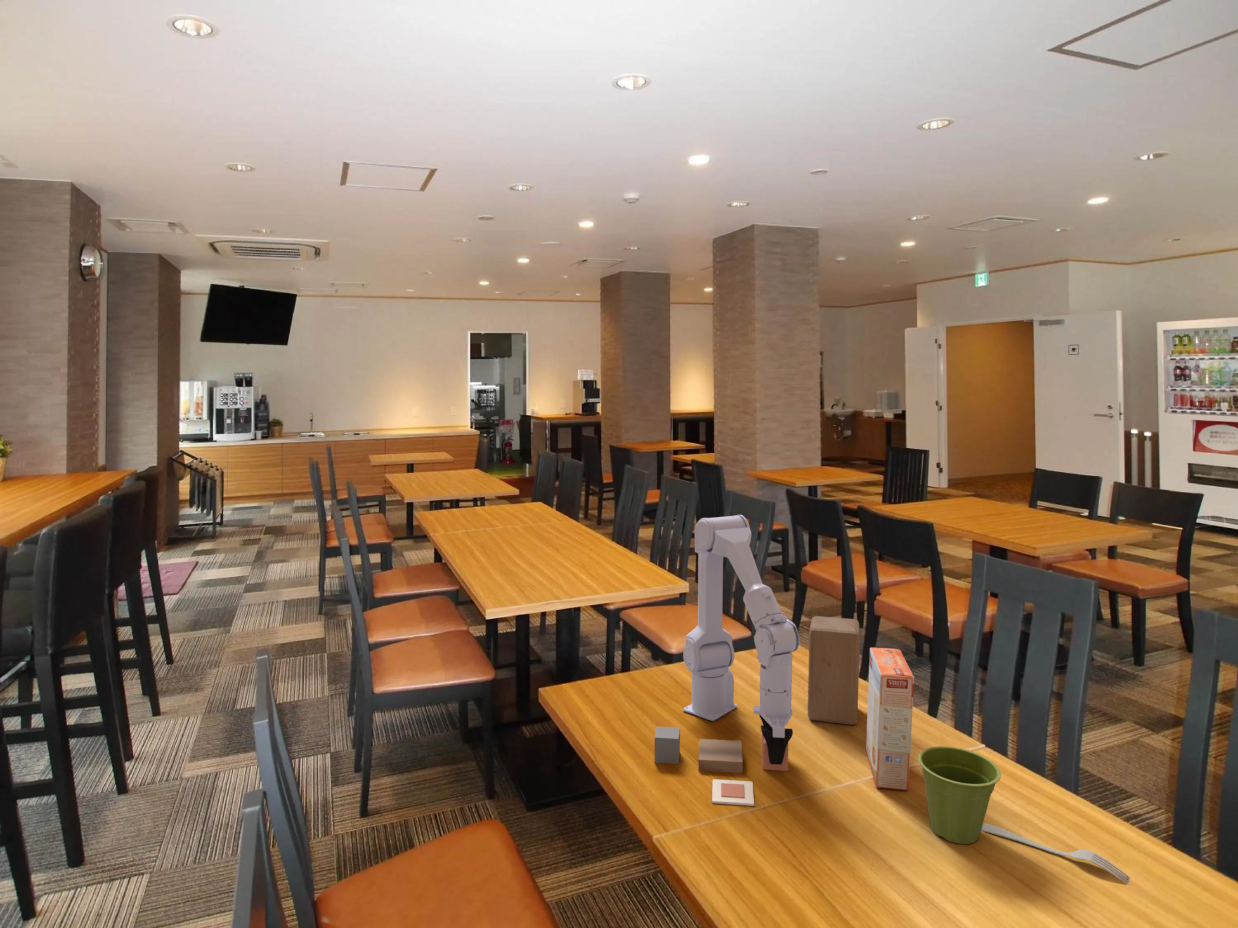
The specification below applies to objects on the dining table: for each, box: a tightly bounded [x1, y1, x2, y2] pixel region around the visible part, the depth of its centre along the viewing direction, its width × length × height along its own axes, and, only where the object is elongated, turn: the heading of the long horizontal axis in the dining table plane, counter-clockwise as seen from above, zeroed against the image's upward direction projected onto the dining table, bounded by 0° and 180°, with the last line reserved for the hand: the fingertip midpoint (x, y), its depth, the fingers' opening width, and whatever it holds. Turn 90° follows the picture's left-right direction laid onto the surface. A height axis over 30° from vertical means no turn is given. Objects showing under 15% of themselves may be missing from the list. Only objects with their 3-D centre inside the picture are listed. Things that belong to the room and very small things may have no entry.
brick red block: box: [761, 733, 789, 771], centre depth 140 cm, size 4×4×5 cm
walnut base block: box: [697, 738, 744, 774], centre depth 141 cm, size 8×8×2 cm
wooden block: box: [807, 615, 861, 726], centre depth 159 cm, size 10×10×20 cm
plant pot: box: [917, 745, 1002, 845], centre depth 118 cm, size 12×12×11 cm
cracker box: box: [865, 647, 915, 791], centre depth 136 cm, size 14×6×21 cm, turn 168°
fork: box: [981, 822, 1131, 885], centre depth 113 cm, size 3×21×3 cm, turn 48°
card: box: [711, 778, 755, 807], centre depth 130 cm, size 7×7×1 cm
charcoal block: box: [654, 726, 681, 765], centre depth 143 cm, size 4×4×5 cm
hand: (774, 756), depth 140 cm, fingers closed on brick red block, 4 cm apart
